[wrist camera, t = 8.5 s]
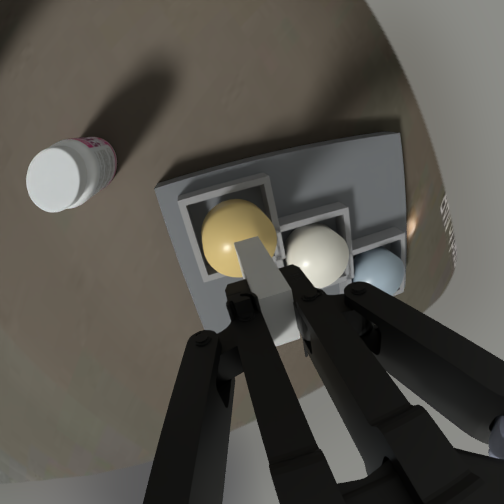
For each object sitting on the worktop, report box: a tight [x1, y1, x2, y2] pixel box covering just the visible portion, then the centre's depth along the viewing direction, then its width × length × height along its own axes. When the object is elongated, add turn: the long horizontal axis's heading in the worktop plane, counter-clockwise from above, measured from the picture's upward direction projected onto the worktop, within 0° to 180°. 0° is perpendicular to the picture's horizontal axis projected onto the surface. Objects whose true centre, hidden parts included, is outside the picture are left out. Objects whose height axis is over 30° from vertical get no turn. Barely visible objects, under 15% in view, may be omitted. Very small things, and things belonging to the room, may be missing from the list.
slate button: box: [351, 246, 404, 296], centre depth 27 cm, size 5×5×2 cm
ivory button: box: [284, 222, 349, 288], centre depth 25 cm, size 5×5×2 cm
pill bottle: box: [26, 137, 117, 212], centre depth 18 cm, size 5×5×8 cm
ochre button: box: [201, 199, 277, 277], centre depth 21 cm, size 5×5×2 cm
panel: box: [154, 131, 407, 333], centre depth 27 cm, size 17×22×4 cm
